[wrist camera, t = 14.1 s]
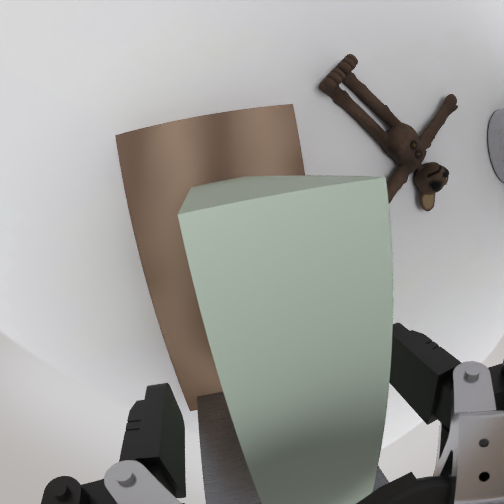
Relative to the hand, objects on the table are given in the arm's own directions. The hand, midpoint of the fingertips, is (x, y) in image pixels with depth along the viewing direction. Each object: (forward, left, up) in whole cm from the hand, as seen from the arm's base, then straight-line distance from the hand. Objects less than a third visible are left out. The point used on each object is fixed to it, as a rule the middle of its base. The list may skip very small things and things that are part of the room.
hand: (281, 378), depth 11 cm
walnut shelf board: (0, 0, -14) cm, 14 cm away
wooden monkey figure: (-15, -9, -14) cm, 22 cm away
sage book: (0, 0, -12) cm, 12 cm away
